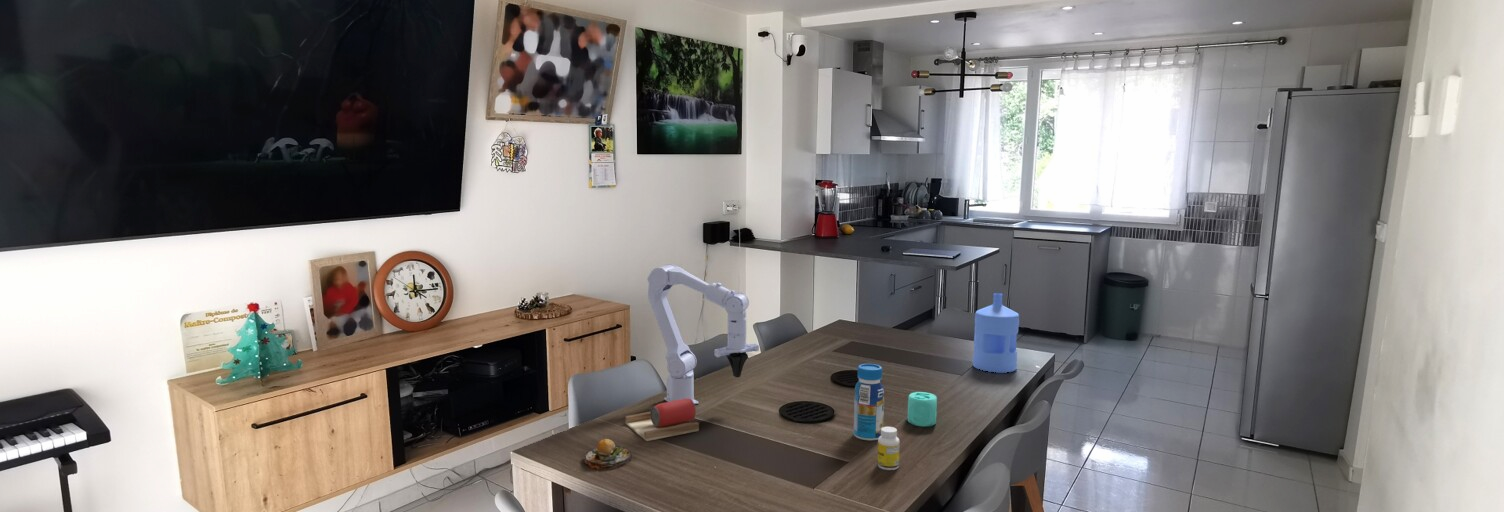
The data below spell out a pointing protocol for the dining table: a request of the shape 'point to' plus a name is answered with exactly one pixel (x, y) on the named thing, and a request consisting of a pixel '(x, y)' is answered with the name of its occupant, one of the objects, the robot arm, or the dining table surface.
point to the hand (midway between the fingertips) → (736, 376)
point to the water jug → (996, 338)
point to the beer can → (673, 412)
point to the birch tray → (657, 427)
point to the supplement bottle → (888, 449)
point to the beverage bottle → (868, 403)
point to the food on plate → (608, 456)
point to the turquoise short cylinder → (922, 409)
